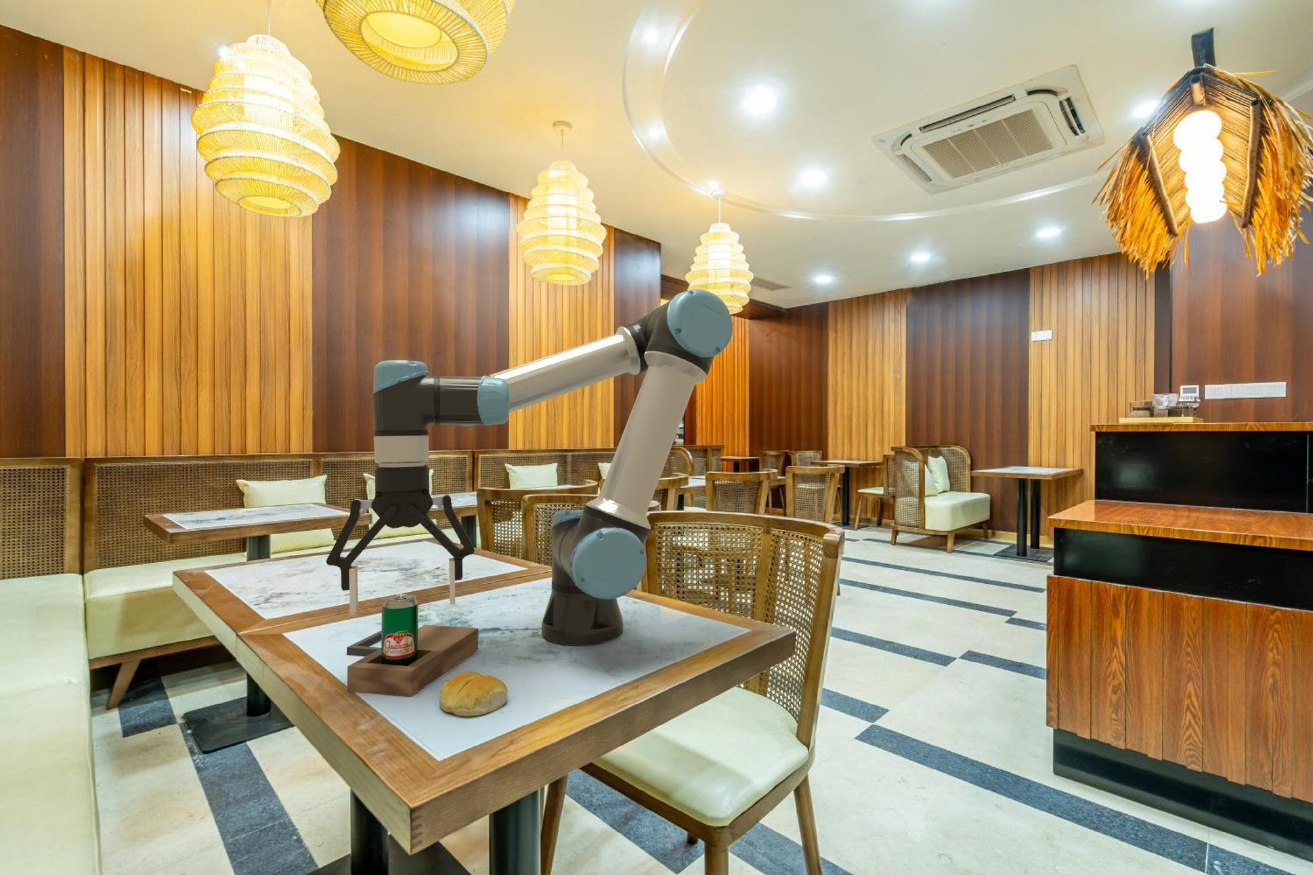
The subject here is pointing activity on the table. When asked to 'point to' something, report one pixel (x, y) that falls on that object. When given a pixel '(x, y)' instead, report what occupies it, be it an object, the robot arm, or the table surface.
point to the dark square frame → (364, 645)
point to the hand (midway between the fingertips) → (404, 607)
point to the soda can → (399, 630)
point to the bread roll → (472, 694)
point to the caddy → (434, 659)
